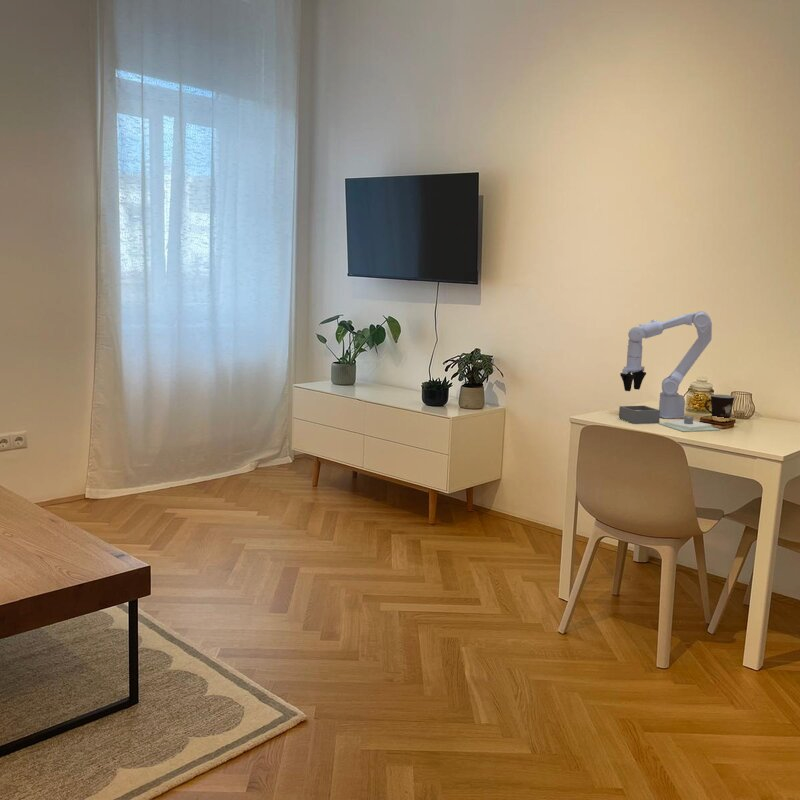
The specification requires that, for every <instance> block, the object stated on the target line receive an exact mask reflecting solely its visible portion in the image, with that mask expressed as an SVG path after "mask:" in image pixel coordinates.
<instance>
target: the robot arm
mask: <svg viewBox="0 0 800 800" xmlns="http://www.w3.org/2000/svg"><path fill="white" fill-rule="evenodd" d="M683 325H687V326H693V325H694V327H695V329H696V333H697V339H696V340H695V341H694V343H693V344H692V345H691V346H690V348H689V349H688V350H687V352H686V353H685V355H684V356H683V357H682V359H681V360H680V361H679V363H678V364H677V366H676V367H675V368H674V370H673V371H671V373H670V374H669V376H667V377H665V378H663V380H662V382H661V392H660V393H659V402H658V410H660V418H663V419H684V416H685V411H686V410H685V406H686V400H685V397H684V395H681V394H679V393H678V391H679V386H680V384H681V383H682V382H683V380H684V379H685V377H686V375H687V373H688V372H689V371H690V370H691V369H692V367H693V366H694V364H695V363H696V361H697V360H698V359H699V357H700V356H701V354H702V353H703V352H704V351H705V349H706V348H707V347H708V345H709V344H710V342H711V341H712V338H713V337H712V333H713V332H712V329H713V327H712V326H713V324H712V319H711V316H710V315H709V314H708V313H707V312H705V311H697V312H691V313H686V314H683V315H679V316H677V317H674V318H673V317H672V318H670V319H667V320H665V321H662V322H661V321H659V320H658V319H657V320H654V319H652V320H650V322H648V323H644V324H638V326H633V327H631V328H630V329H629V331H628V333H627V334H628V335H627V336H628V343H627V344H628V345H627V352H626V353H627V354H626V366H623V368H622V370H621V371H622V372H620V374H619V375H620V378H621V380H622V383H623V387H624V391H625V392H631V390H632V385H633V389H634V390H640V389H641V386H642V383H643V381H644V379H645V377H646V375H647V372H645V366H642V359H643V339H649V338H652V337H656V336H659V335H662V334H663V332H664V331H665V330H667V329H671V328H675V327H678V326H683Z"/></svg>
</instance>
